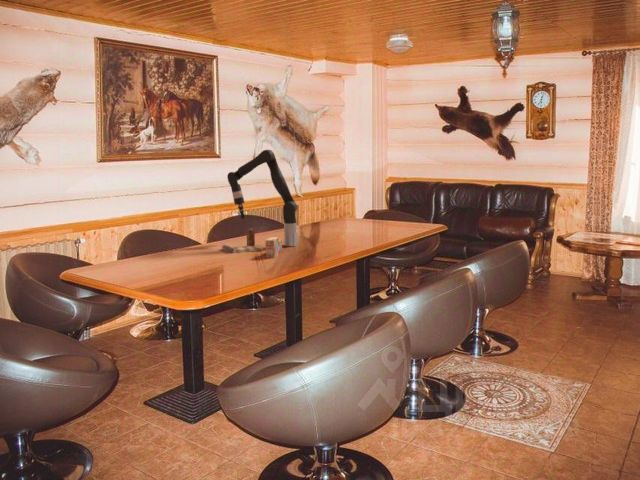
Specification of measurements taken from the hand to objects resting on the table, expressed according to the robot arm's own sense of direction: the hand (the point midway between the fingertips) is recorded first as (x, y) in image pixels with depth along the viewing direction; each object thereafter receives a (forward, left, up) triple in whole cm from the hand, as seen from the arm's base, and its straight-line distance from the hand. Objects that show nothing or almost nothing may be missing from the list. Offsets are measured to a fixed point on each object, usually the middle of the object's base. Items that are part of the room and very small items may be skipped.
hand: (243, 218), depth 462 cm
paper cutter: (-10, +20, -20) cm, 30 cm away
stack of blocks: (-40, +28, -20) cm, 53 cm away
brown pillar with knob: (-12, +10, -20) cm, 25 cm away
